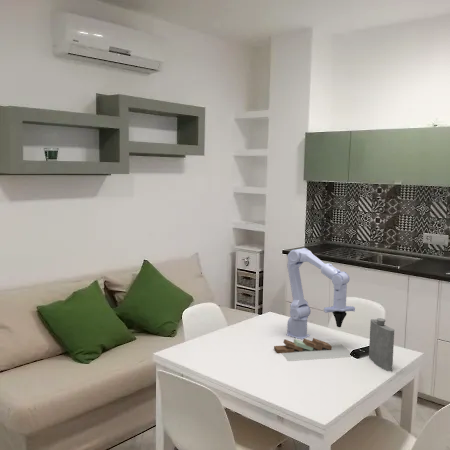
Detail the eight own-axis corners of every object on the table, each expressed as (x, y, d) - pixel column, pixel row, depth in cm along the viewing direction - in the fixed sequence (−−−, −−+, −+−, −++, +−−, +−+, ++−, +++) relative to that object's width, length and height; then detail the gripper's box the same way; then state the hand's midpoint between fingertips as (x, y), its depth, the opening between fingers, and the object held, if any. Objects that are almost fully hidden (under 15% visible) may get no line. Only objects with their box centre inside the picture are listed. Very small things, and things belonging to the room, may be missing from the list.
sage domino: (312, 351, 234) (296, 345, 233) (308, 347, 239) (293, 342, 238) (313, 347, 234) (297, 342, 233) (309, 344, 239) (294, 338, 237)
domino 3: (321, 350, 235) (306, 345, 233) (317, 346, 240) (302, 341, 238) (322, 347, 235) (307, 342, 233) (318, 343, 240) (303, 338, 238)
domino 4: (330, 350, 236) (315, 344, 234) (326, 346, 241) (312, 341, 239) (332, 346, 236) (317, 341, 234) (328, 343, 241) (313, 338, 239)
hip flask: (393, 370, 214) (396, 324, 211) (385, 371, 213) (387, 325, 210) (373, 356, 229) (375, 313, 227) (365, 357, 228) (367, 314, 226)
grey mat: (288, 361, 222) (288, 361, 222) (277, 348, 238) (277, 348, 238) (356, 357, 228) (356, 356, 228) (341, 344, 244) (341, 344, 244)
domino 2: (301, 351, 233) (286, 346, 231) (298, 347, 238) (283, 342, 236) (303, 348, 233) (287, 342, 231) (299, 344, 238) (284, 339, 236)
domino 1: (294, 352, 232) (277, 353, 231) (290, 348, 237) (274, 349, 236) (294, 348, 232) (277, 349, 231) (290, 345, 237) (274, 346, 236)
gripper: (328, 301, 231) (327, 330, 233) (358, 299, 234) (357, 328, 235) (322, 297, 238) (321, 325, 240) (351, 295, 241) (350, 323, 242)
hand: (338, 326), depth 238 cm, fingers closed
